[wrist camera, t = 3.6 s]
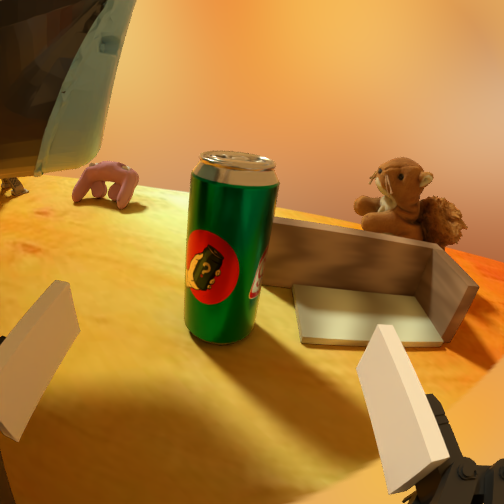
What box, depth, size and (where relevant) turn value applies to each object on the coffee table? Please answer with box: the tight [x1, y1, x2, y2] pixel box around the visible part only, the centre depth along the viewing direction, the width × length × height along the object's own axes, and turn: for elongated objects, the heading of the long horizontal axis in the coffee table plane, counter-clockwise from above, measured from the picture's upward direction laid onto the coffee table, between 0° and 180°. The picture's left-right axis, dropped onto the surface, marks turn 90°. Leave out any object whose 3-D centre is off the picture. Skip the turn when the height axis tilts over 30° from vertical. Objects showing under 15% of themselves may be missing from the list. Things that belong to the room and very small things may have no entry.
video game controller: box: [72, 161, 139, 209], centre depth 41 cm, size 10×5×7 cm, turn 82°
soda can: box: [184, 151, 280, 345], centre depth 19 cm, size 5×5×12 cm
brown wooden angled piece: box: [262, 217, 479, 347], centre depth 24 cm, size 18×9×6 cm, turn 89°
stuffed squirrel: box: [354, 157, 468, 251], centre depth 33 cm, size 10×14×13 cm
